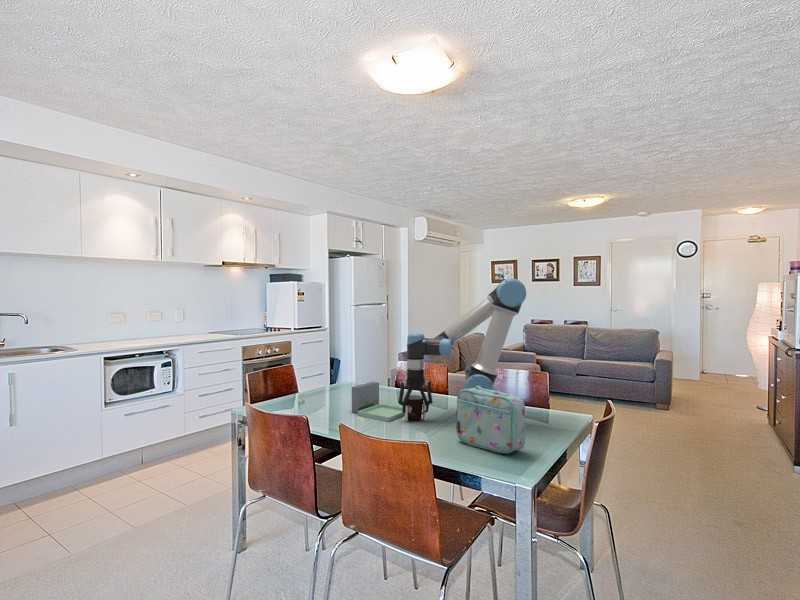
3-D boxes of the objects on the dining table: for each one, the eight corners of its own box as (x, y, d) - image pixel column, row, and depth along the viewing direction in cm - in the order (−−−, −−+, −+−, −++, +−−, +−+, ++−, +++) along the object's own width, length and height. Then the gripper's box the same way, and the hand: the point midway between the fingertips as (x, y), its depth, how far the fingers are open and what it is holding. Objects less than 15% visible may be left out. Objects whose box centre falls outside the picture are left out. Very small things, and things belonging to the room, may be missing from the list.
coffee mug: (401, 418, 199) (401, 396, 199) (418, 416, 203) (418, 394, 203) (412, 425, 189) (412, 401, 189) (430, 422, 192) (430, 399, 192)
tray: (411, 413, 208) (411, 409, 208) (388, 422, 193) (388, 417, 193) (381, 407, 218) (381, 403, 218) (357, 415, 203) (357, 411, 203)
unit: (379, 406, 220) (379, 382, 220) (358, 413, 207) (358, 388, 207) (372, 405, 223) (372, 381, 222) (351, 412, 209) (351, 386, 209)
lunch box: (450, 441, 168) (450, 384, 168) (466, 435, 176) (467, 381, 175) (512, 459, 149) (512, 396, 149) (527, 452, 157) (528, 391, 156)
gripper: (435, 366, 201) (435, 416, 201) (391, 367, 198) (391, 418, 198) (440, 369, 194) (440, 421, 194) (394, 370, 190) (393, 423, 190)
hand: (415, 419), depth 196 cm, fingers open, 8 cm apart
